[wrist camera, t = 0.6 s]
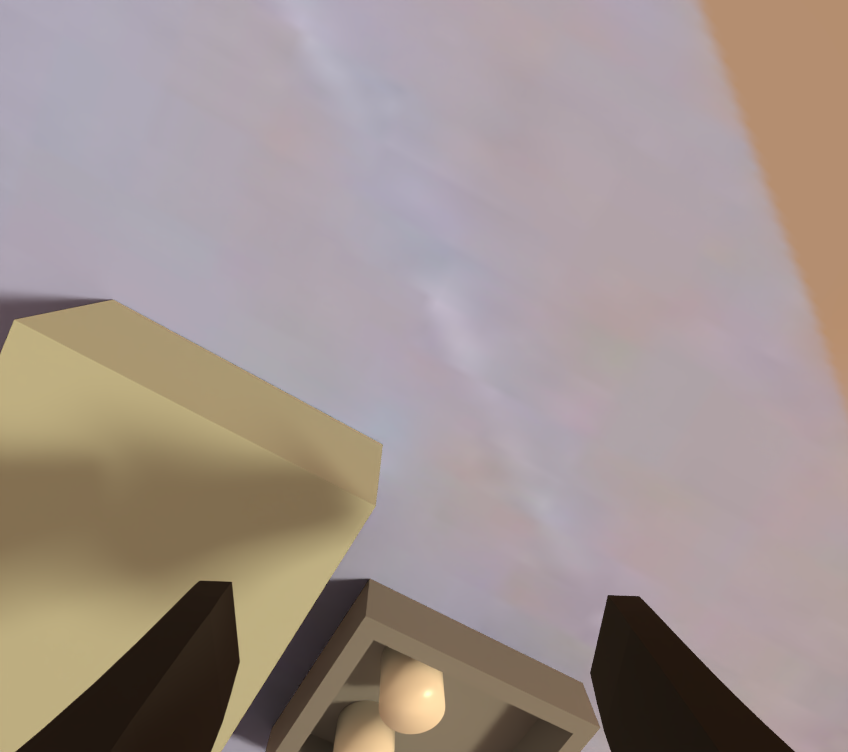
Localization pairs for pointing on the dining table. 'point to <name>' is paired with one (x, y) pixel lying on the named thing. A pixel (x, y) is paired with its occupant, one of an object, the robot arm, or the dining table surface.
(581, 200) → the dining table surface
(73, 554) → the bench
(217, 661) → the robot arm
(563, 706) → the tray
